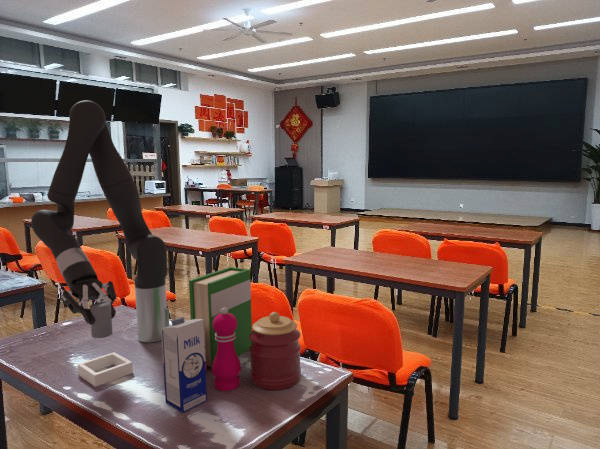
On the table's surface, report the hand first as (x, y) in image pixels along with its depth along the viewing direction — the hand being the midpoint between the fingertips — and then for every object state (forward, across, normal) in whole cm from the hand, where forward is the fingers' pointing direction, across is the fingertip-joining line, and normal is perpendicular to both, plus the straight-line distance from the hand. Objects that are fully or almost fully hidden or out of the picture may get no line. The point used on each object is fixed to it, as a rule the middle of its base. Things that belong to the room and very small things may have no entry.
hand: (103, 319), depth 117 cm
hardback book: (+23, +26, -1) cm, 35 cm away
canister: (+37, +24, -16) cm, 47 cm away
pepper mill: (+32, +14, -11) cm, 37 cm away
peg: (+2, 0, +4) cm, 4 cm away
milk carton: (+31, +3, -9) cm, 32 cm away
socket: (+10, 0, +11) cm, 15 cm away
